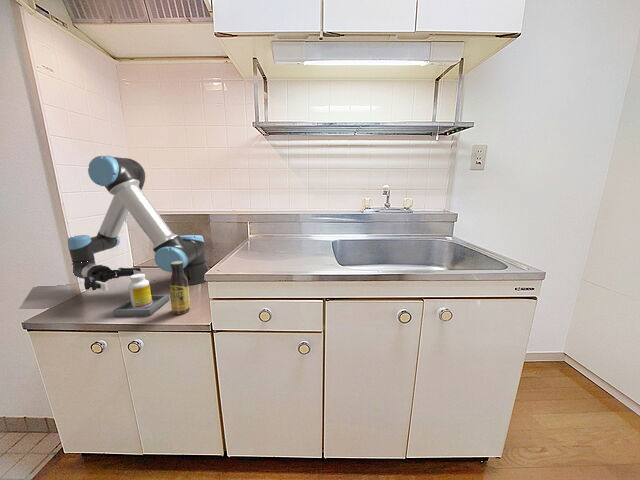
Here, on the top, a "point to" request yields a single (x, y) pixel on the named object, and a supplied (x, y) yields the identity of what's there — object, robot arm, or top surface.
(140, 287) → the supplement bottle
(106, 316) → the top surface
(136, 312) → the tray
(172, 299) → the sauce bottle
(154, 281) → the top surface
